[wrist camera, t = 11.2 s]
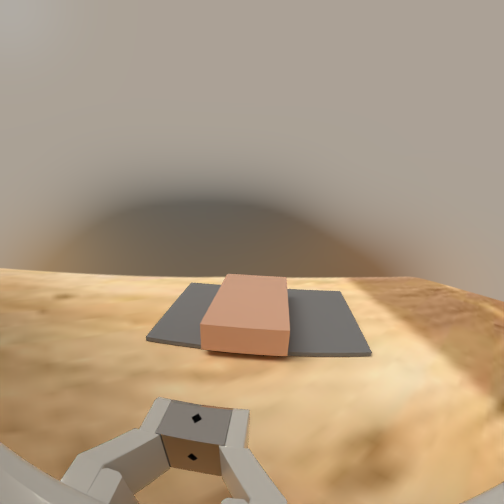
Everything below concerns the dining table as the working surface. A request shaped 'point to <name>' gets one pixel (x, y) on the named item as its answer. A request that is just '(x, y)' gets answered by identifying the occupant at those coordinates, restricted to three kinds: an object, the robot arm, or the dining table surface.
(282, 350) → the orange brown rectangular block
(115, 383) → the dining table surface
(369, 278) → the dining table surface
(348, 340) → the felt mat
